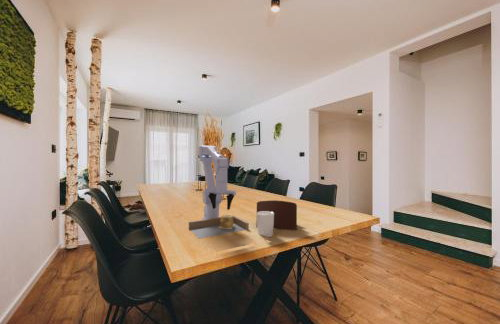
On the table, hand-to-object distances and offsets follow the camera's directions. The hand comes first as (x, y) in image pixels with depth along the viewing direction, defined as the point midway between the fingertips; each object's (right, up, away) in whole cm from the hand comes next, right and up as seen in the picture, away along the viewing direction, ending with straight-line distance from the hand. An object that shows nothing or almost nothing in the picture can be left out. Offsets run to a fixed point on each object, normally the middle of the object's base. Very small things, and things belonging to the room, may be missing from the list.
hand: (221, 208), depth 108 cm
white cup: (+21, -10, -10) cm, 25 cm away
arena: (-1, -9, -5) cm, 11 cm away
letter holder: (+28, -10, +3) cm, 30 cm away
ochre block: (+3, -8, -2) cm, 9 cm away
